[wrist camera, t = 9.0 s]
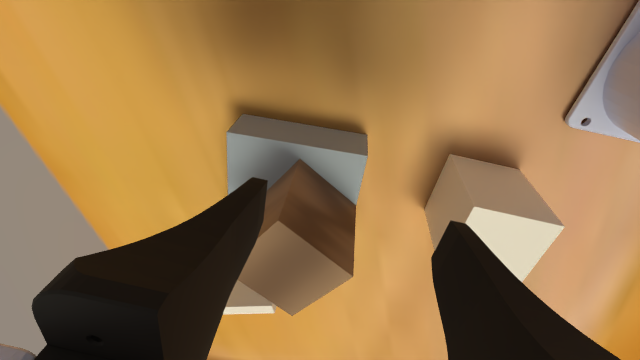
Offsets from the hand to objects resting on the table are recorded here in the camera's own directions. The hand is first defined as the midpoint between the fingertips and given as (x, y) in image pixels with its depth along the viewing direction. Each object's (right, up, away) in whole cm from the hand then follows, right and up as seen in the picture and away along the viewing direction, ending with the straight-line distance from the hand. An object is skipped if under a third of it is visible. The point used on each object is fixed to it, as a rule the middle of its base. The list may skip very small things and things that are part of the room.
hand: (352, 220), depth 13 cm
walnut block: (-2, 0, +9) cm, 9 cm away
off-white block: (+9, +1, +11) cm, 14 cm away
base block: (-3, +2, +12) cm, 12 cm away
